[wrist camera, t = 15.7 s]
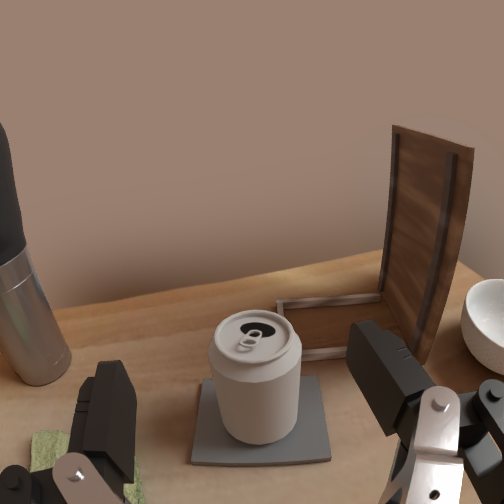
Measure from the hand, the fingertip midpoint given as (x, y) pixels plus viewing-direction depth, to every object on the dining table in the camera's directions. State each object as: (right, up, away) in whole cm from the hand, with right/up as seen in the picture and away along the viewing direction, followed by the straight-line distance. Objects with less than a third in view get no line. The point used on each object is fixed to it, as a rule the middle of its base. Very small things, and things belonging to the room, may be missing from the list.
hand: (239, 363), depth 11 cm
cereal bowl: (+35, -10, +23) cm, 43 cm away
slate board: (+1, -14, +20) cm, 24 cm away
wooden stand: (+12, -7, +32) cm, 35 cm away
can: (+1, -13, +19) cm, 23 cm away
